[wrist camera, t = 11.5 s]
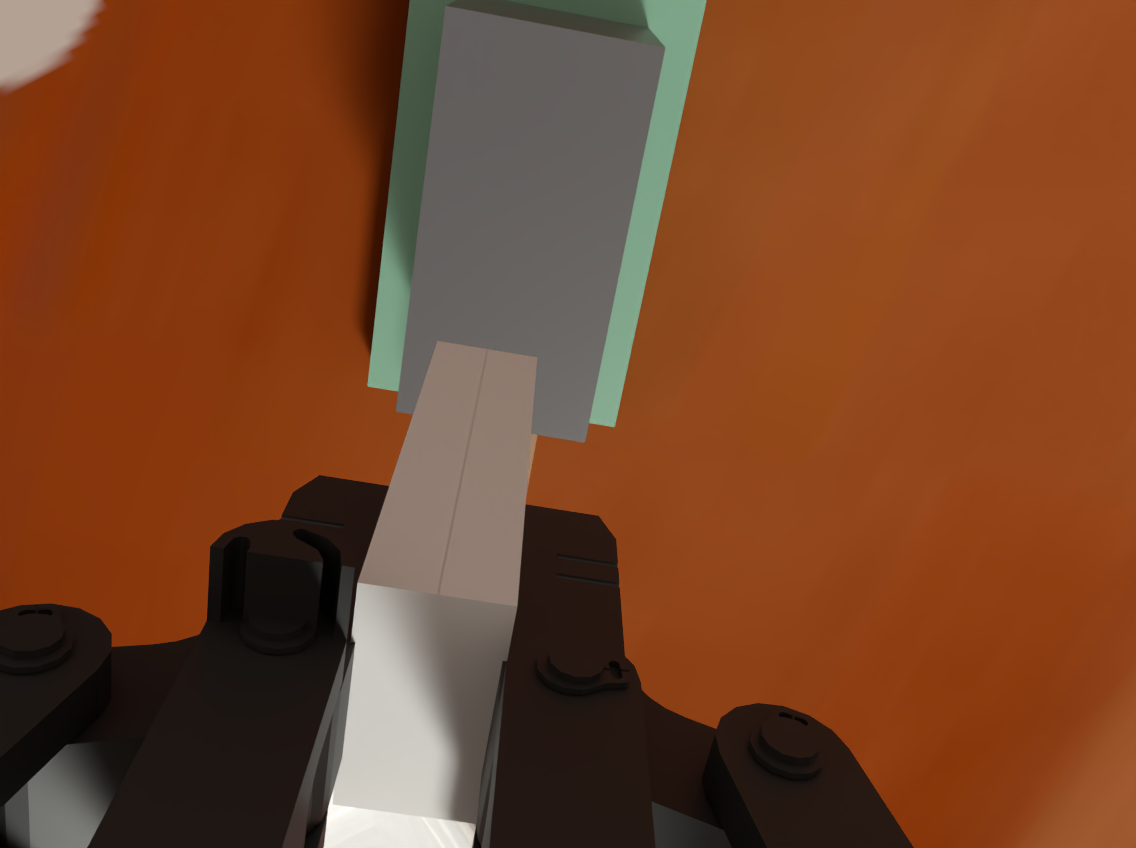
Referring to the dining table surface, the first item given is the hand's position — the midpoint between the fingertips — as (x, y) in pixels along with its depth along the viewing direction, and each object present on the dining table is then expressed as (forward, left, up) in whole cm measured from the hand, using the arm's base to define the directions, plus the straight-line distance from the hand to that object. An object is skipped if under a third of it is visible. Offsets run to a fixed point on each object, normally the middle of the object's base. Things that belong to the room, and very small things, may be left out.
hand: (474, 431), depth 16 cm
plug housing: (0, -2, -17) cm, 17 cm away
